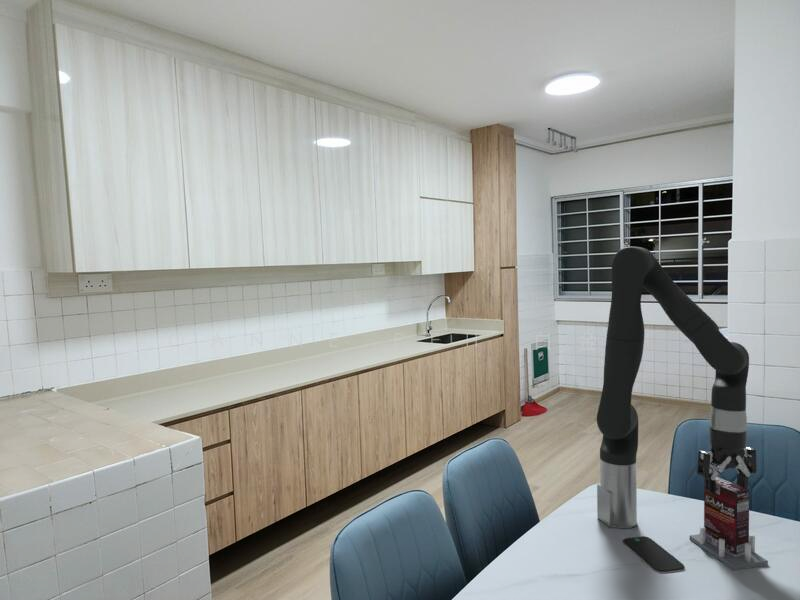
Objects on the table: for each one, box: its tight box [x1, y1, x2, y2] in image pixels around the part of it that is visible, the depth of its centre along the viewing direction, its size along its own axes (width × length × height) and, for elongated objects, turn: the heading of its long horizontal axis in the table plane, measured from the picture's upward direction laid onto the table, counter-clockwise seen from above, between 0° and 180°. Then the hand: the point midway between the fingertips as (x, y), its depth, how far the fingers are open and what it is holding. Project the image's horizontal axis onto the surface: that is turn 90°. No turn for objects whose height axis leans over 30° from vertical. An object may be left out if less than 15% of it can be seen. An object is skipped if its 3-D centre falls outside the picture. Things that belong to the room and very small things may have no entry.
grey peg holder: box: [689, 525, 769, 571], centre depth 126 cm, size 9×14×5 cm
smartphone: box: [622, 535, 686, 574], centre depth 126 cm, size 8×1×15 cm
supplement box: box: [703, 476, 750, 558], centre depth 126 cm, size 9×5×16 cm, turn 20°
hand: (726, 491), depth 126 cm, fingers open, 8 cm apart
